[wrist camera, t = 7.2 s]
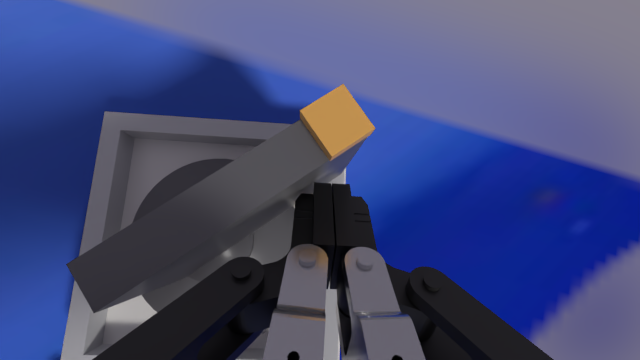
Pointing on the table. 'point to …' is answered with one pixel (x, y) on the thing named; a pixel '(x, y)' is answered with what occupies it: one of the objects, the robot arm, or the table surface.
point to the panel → (128, 193)
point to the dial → (222, 210)
